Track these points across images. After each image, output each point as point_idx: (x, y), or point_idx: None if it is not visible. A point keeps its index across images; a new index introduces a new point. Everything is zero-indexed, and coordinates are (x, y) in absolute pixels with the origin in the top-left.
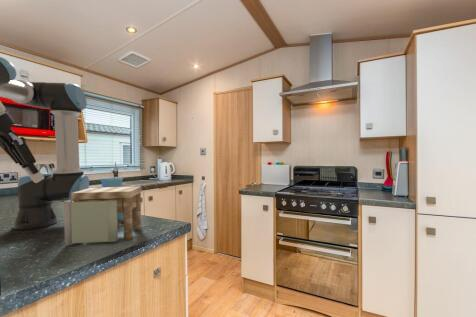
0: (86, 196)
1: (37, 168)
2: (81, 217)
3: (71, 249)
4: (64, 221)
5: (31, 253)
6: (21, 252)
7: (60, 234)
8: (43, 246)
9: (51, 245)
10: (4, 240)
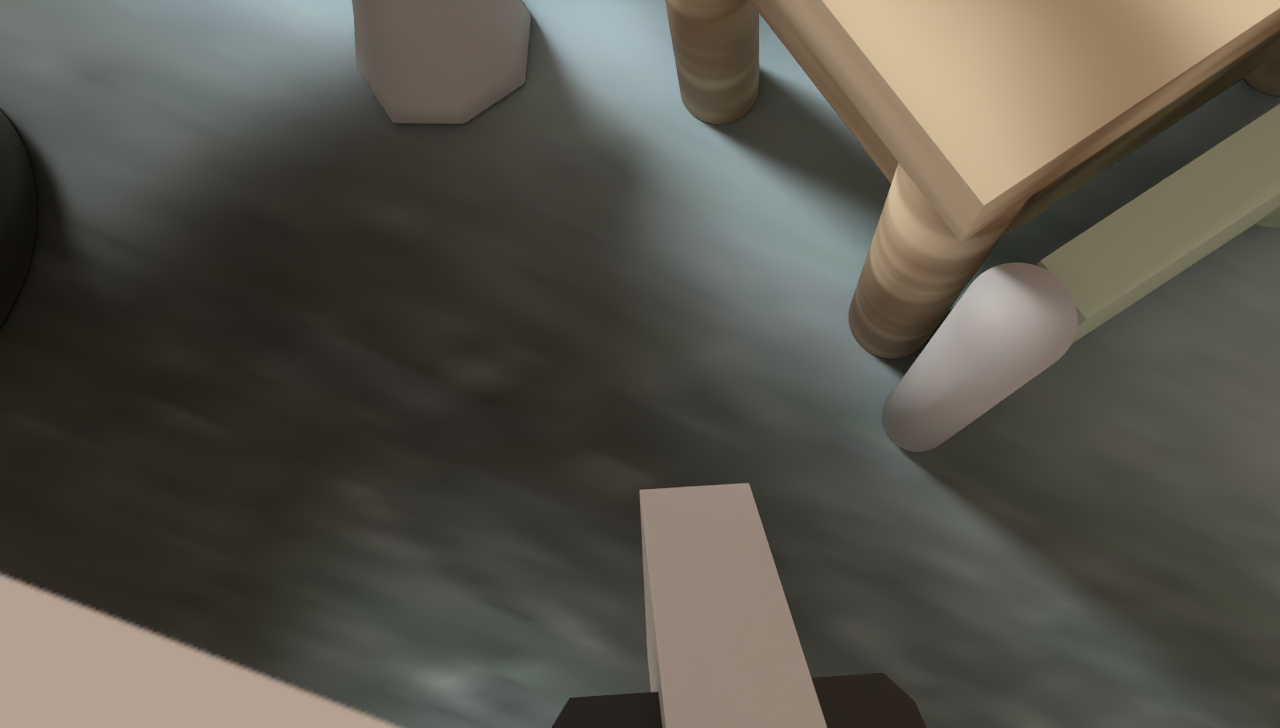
0: (1174, 94)
1: (806, 679)
2: (1133, 295)
3: (1047, 464)
4: (955, 418)
5: None
6: None
7: (473, 288)
8: None
9: None
10: (143, 629)
